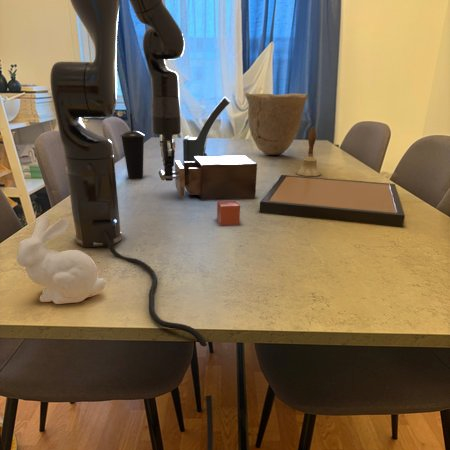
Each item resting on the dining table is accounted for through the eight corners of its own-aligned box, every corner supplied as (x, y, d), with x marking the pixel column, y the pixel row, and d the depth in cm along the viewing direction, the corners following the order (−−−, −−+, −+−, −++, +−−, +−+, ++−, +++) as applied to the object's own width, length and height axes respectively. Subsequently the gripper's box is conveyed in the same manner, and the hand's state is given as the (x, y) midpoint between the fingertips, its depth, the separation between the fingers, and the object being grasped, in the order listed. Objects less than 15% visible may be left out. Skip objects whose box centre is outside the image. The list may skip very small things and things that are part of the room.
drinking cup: (119, 178, 144) (113, 113, 135) (133, 174, 150) (129, 111, 141) (137, 181, 141) (133, 114, 132) (151, 176, 147) (148, 113, 138)
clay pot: (233, 150, 200) (235, 91, 189) (288, 149, 208) (293, 91, 196) (255, 161, 177) (258, 94, 166) (315, 159, 185) (323, 95, 173)
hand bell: (296, 175, 155) (300, 128, 147) (298, 171, 162) (302, 125, 154) (319, 177, 153) (325, 129, 145) (320, 172, 160) (326, 126, 153)
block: (239, 224, 103) (240, 205, 101) (220, 225, 102) (221, 206, 100) (234, 218, 107) (235, 200, 105) (216, 219, 106) (217, 201, 104)
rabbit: (21, 305, 66) (4, 230, 60) (44, 279, 74) (31, 211, 69) (100, 307, 66) (90, 232, 60) (114, 281, 74) (107, 213, 69)
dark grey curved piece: (228, 168, 163) (229, 97, 152) (182, 166, 164) (181, 96, 153) (229, 163, 173) (231, 96, 161) (186, 161, 174) (185, 94, 162)
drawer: (162, 197, 120) (160, 168, 116) (158, 187, 130) (157, 160, 126) (231, 195, 124) (232, 167, 120) (222, 186, 134) (223, 159, 130)
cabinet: (201, 200, 122) (201, 164, 117) (194, 189, 133) (194, 156, 128) (255, 198, 125) (257, 163, 121) (243, 188, 136) (245, 155, 132)
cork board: (402, 226, 105) (393, 193, 135) (404, 215, 103) (394, 183, 134) (259, 212, 113) (280, 183, 143) (259, 201, 111) (281, 174, 142)
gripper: (150, 112, 120) (154, 175, 129) (153, 117, 109) (157, 186, 117) (177, 112, 122) (179, 175, 130) (183, 117, 111) (184, 185, 119)
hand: (168, 180), depth 124 cm, fingers closed
